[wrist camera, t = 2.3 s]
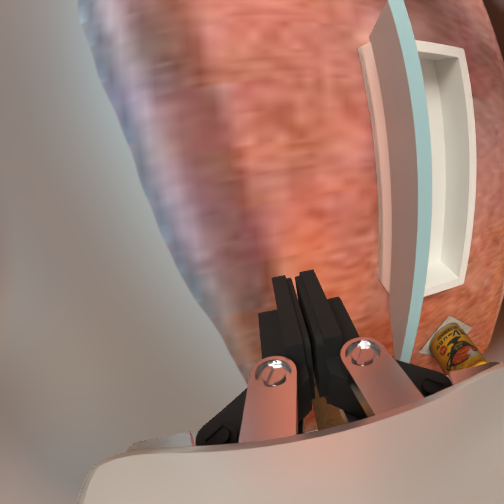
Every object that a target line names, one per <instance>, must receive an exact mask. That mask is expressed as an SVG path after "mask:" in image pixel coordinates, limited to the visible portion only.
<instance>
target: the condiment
mask: <svg viewBox="0 0 504 504" xmlns="http://www.w3.org/2000/svg"><path fill="white" fill-rule="evenodd" d="M471 329H472V327H470V326H468V325H466V324H464V323H462V322H460V321H459V320H457V319H455V318H453V317H451V316H448V317H447V319H446V320H445V321H444V322H443V324H442V325H441V326H440V327H439V328H438V329H437V331H436V332H435V333H434V334H433V335H432V337H431V338H430V339H429V340H428V341H427V343H426V344H425V346H424V347H423V348H422V349H421V350H420V351H419V352H418V353H422V354H425V355H429V356H432V357H434V358H435V359H436V360H437V362H438V364H439V365H440V367H441V368H442V370H443V372H444V373H445V375H449V373H450V372H452V371H456V370H461V369H465V368H470V367H474V366H478V365H482V364H485V363H487V361H486V360H485V358H484V357H483V355H482V354H481V353H480V352H479V351H478V349H477V347H476V346H475V345H474V344H473V342H472V341H471V339H470V338H469V337H468V335H467V334H468V333H469V332H470V330H471Z"/></svg>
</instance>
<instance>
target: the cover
mask: <svg viewBox="0 0 504 504" xmlns="http://www.w3.org/2000/svg"><path fill="white" fill-rule="evenodd" d="M370 42H371V46H372V50H373V54H374V59H375V63H376V68H377V73H378V79H379V84H380V90H381V96H382V102H383V109H384V116H385V123H386V132H387V141H388V151H389V163H390V179H391V203H392V250H391V274H390V289H389V302H388V307H389V314H390V322H391V330H392V338H393V348H394V359H396V360H399V361H403V362H406V363H410V359H411V355H412V351H413V347H414V343H415V338H416V334H417V329H418V324H419V319H420V314H421V309H422V303H423V297H424V290H425V284H426V276H427V268H428V259H429V249H430V237H431V220H432V155H431V139H430V127H429V117H428V108H427V100H426V93H425V87H424V81H423V75H422V70H421V65H420V60H419V55H418V51H417V46H416V42H415V38H414V34H413V30H412V27H411V23H410V20H409V16H408V13H407V10H406V6H405V3H404V0H387V1H386V3H385V5H384V7H383V10H382V12H381V14H380V16H379V18H378V20H377V22H376V24H375V26H374V28H373V30H372V32H371V35H370Z"/></svg>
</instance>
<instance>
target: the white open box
mask: <svg viewBox="0 0 504 504" xmlns="http://www.w3.org/2000/svg"><path fill="white" fill-rule="evenodd" d="M415 42H416V46H417V51H418V55H419V60H420V65H421V70H422V75H423V81H424V87H425V93H426V100H427V108H428V117H429V127H430V139H431V155H432V220H431V237H430V249H429V259H428V268H427V276H426V284H425V290H424V297H425V296H428V295H431V294H434V293H438V292H441V291H444V290H447V289H450V288H453V287H456V286H459V285H462V284H464V280H465V275H466V269H467V264H468V258H469V252H470V245H471V238H472V230H473V221H474V210H475V195H476V133H475V119H474V108H473V99H472V92H471V85H470V78H469V73H468V67H467V62H466V57H465V52H464V49H463V48H458V47H454V46H449V45H444V44H438V43H432V42H426V41H419V40H415ZM357 50H358V54H359V59H360V63H361V68H362V73H363V78H364V83H365V89H366V95H367V101H368V107H369V113H370V120H371V128H372V136H373V144H374V154H375V165H376V177H377V193H378V216H379V274H378V279H379V280H380V282H381V283H382V284H383V286H384V287H385V289H386V290H387V291H388V293H389V289H390V274H391V250H392V203H391V179H390V163H389V151H388V141H387V132H386V123H385V116H384V109H383V102H382V96H381V90H380V84H379V79H378V73H377V68H376V63H375V59H374V54H373V50H372V46H371V42H369V43H367V44H365V45H363V46H361V47H359V48H357Z"/></svg>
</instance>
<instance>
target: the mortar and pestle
mask: <svg viewBox="0 0 504 504" xmlns="http://www.w3.org/2000/svg"><path fill="white" fill-rule="evenodd" d="M313 376H314V374H313ZM314 387H315V399H312V402H313V407H314V411H315V416H316V421H317V426H318V430H323V429H327V428H331V427H336V426H340V425H343V424H345V422H344V420H343V418H342V416H341V414H340V411H339V408H337V407H335V406H333V405H330V404H327V403H326V399H325V397H322V398H320V397H319V393H318V389H317V386H316V382H315V378H314Z"/></svg>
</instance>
